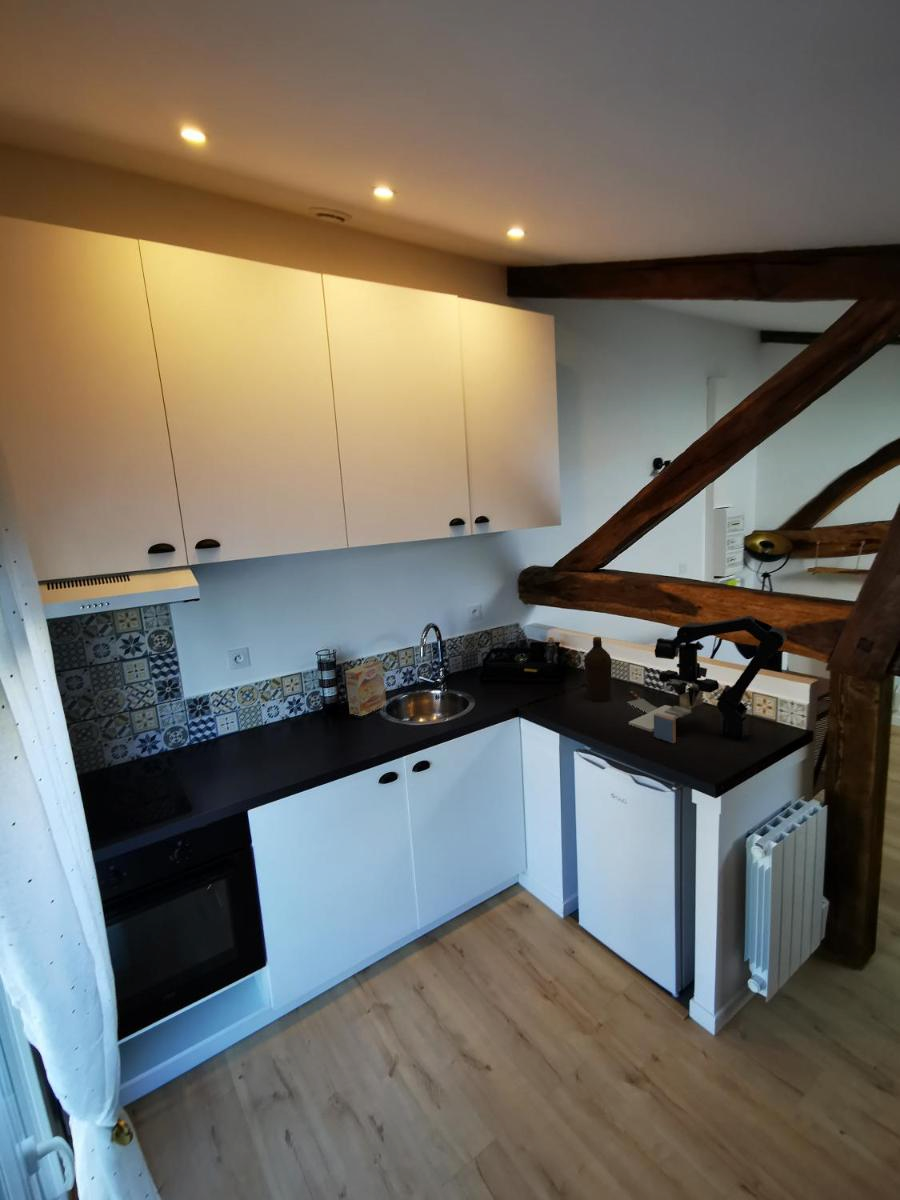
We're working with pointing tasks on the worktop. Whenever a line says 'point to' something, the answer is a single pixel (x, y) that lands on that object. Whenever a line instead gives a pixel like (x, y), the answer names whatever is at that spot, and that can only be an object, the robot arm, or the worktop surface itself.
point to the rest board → (650, 719)
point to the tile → (665, 728)
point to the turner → (685, 705)
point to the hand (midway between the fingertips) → (688, 704)
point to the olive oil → (598, 672)
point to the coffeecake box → (365, 688)
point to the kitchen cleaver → (641, 703)
